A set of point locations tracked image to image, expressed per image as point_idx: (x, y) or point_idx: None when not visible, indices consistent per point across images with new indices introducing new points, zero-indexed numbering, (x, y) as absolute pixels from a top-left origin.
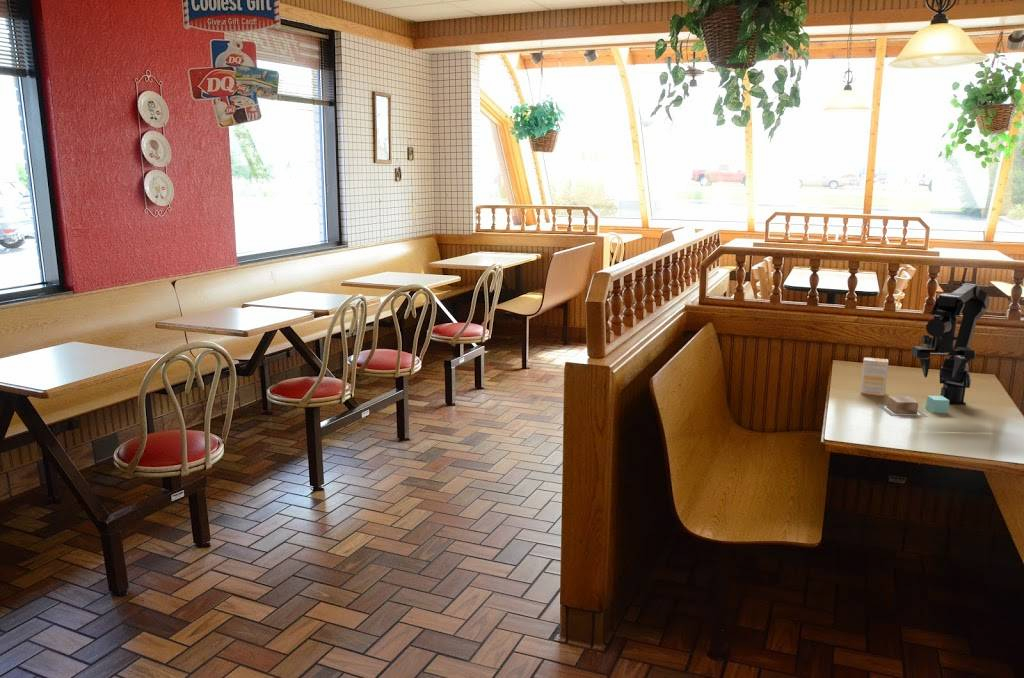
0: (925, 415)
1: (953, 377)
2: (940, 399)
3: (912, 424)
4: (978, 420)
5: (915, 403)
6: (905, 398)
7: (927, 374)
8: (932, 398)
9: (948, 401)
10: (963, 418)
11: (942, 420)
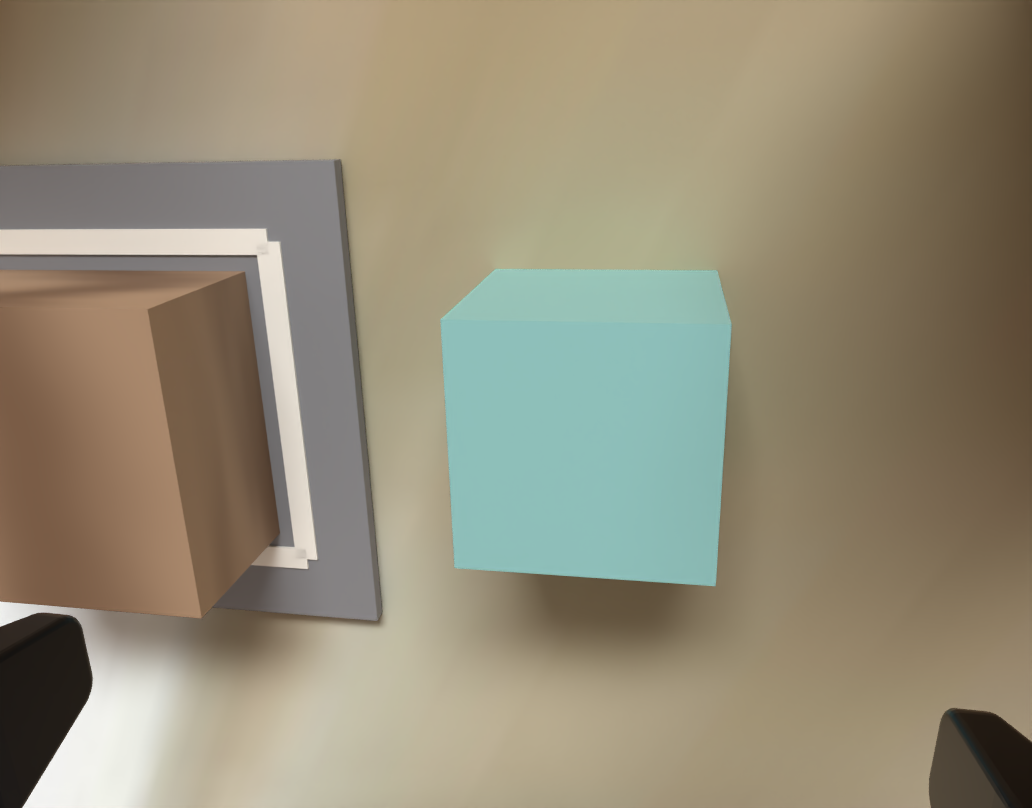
0: (364, 577)
1: (933, 781)
2: (574, 544)
3: (160, 779)
4: (992, 701)
5: (169, 609)
6: (67, 425)
7: (23, 801)
8: (461, 488)
9: (698, 574)
10: (831, 629)
11: (517, 687)
